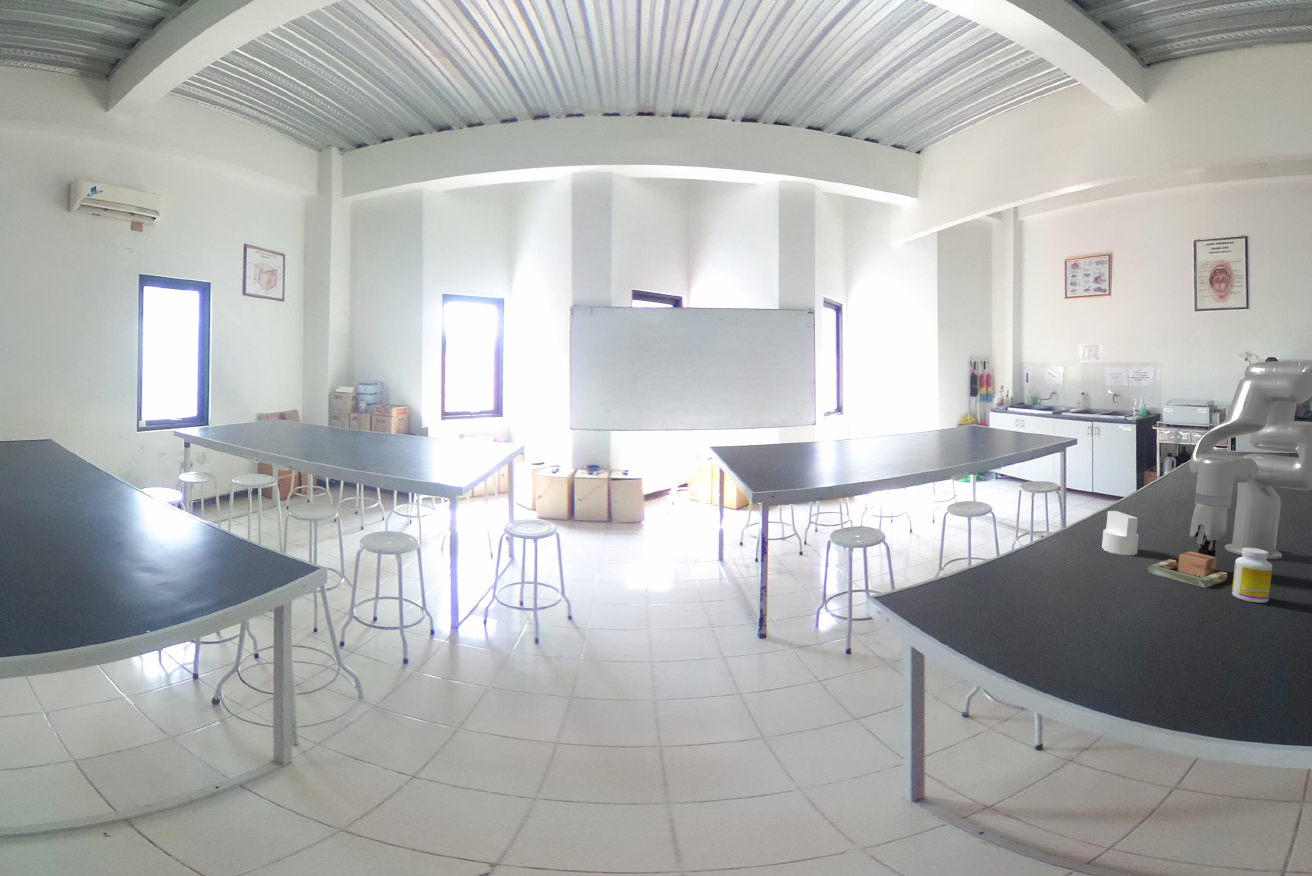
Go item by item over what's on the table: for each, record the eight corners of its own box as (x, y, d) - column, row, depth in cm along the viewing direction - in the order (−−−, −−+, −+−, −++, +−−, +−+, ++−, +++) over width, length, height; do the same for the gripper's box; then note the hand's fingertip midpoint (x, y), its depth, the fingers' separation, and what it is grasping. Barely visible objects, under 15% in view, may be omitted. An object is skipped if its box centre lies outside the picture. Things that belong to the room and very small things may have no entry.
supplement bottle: (1275, 604, 145) (1282, 555, 143) (1244, 602, 146) (1250, 554, 145) (1254, 594, 151) (1260, 546, 150) (1224, 592, 153) (1229, 545, 151)
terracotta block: (1188, 567, 171) (1190, 551, 170) (1214, 574, 166) (1216, 557, 165) (1177, 571, 168) (1179, 554, 168) (1204, 577, 163) (1205, 560, 162)
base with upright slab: (1144, 555, 183) (1148, 518, 181) (1115, 555, 183) (1119, 518, 181) (1122, 546, 191) (1125, 510, 190) (1094, 546, 192) (1097, 511, 190)
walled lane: (1169, 565, 173) (1170, 559, 173) (1226, 579, 161) (1227, 573, 161) (1147, 572, 168) (1148, 565, 167) (1205, 587, 156) (1206, 580, 156)
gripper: (1208, 495, 173) (1202, 554, 175) (1183, 500, 167) (1176, 562, 169) (1242, 500, 166) (1235, 561, 169) (1217, 506, 160) (1210, 570, 162)
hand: (1206, 561), depth 169 cm, fingers closed
